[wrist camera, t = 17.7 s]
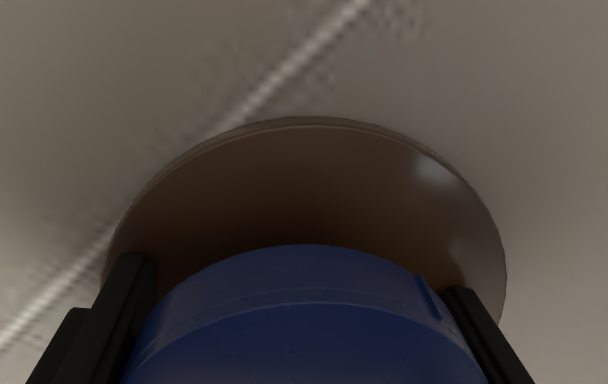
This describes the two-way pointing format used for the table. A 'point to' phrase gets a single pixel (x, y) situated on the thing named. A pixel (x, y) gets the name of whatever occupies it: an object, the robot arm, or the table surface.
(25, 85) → the table surface
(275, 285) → the jar lid
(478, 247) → the coaster
